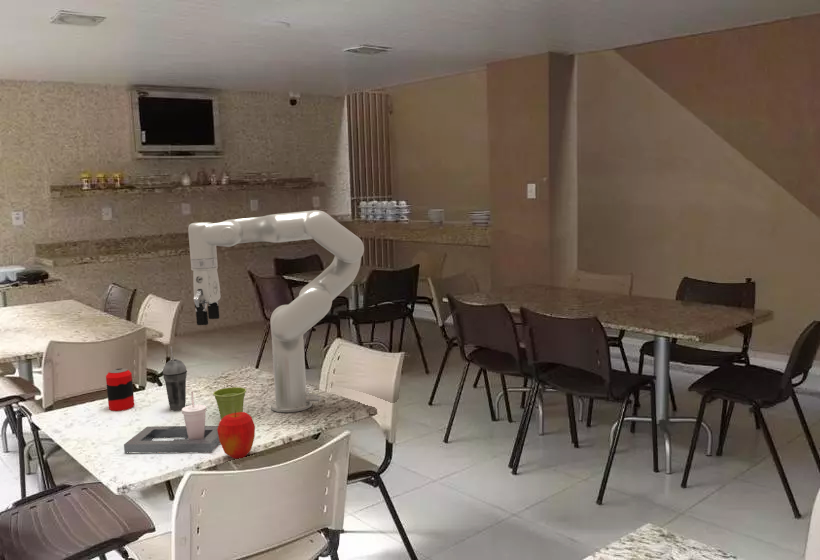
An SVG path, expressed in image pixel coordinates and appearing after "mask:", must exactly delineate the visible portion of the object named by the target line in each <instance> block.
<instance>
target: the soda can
mask: <svg viewBox="0 0 820 560" xmlns="http://www.w3.org/2000/svg"><path fill="white" fill-rule="evenodd" d="M132 374H133V373H132V371H130V370H129V369H128V368H124V367H123V368H115V369H111V370H108V373H106V375H105V381H106V383H105V384H106V393H107V404H108V409H109V410H110V411H111V412H121V411H122V410H123V411H127V410H130V409H133V408H134V406H135V397H134V395H135V394H134V386H133V375H132ZM123 411H122V412H123Z"/></svg>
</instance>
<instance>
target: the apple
mask: <svg viewBox="0 0 820 560" xmlns="http://www.w3.org/2000/svg"><path fill="white" fill-rule="evenodd" d="M217 426H218V429H217V431H218V436H219V441H220V445H221V448H222V450H223V452H224V454H225V455H227V456H229V457H230V458H232V459H233V460H234V459H236V460H237V459H243V458H245V457H246V456H247V455H248V454H249V453H250V452H251V451H252V448H253V444H254V441H255V436H256V435H255V434H256V425H255V423H254V420H253V417H252V416H251V415H250V414H248V413H247V412H245V411H243V412H238V413H236V410H235V413H232V414H229V415H226V416H224V417H223V418H222V419H221V418H220V420H219V422H218V424H217Z"/></svg>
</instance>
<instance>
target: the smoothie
mask: <svg viewBox="0 0 820 560" xmlns="http://www.w3.org/2000/svg"><path fill="white" fill-rule="evenodd" d="M194 399H195V398H194V391H190V401H191V405H188V406H187V405H185V407H184V408H182V410H181V414H182V415H183V420H184V423H185V426H186V429H187V434H188V438H189V439H204V433H205V426H206V412H207V411H208V410H207V409H208V408H207V406H206V405H204V404H200V403H199V404H198V403H197V404H195V400H194Z"/></svg>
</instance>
